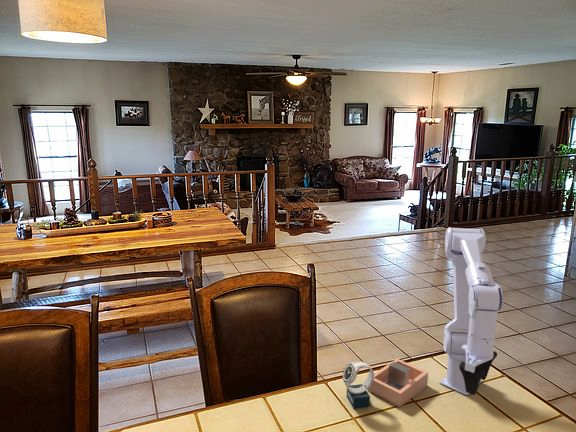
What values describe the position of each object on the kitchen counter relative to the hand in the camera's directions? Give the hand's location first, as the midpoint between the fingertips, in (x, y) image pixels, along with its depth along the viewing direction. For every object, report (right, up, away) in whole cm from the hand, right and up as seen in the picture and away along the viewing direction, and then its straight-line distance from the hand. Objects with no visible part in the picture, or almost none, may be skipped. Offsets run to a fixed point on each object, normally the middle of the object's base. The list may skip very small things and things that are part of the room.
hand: (475, 385), depth 109 cm
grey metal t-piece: (-15, -6, +15) cm, 22 cm away
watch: (-27, -8, +9) cm, 30 cm away
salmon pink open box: (-15, -6, +15) cm, 22 cm away
